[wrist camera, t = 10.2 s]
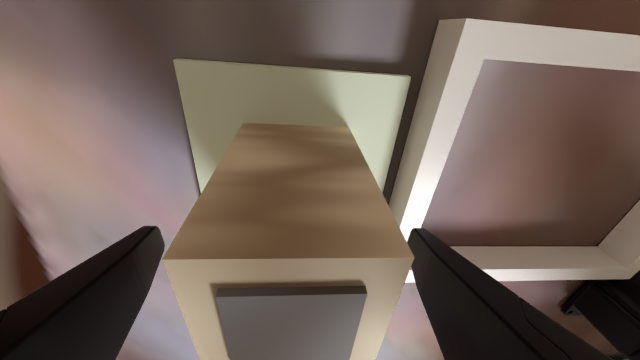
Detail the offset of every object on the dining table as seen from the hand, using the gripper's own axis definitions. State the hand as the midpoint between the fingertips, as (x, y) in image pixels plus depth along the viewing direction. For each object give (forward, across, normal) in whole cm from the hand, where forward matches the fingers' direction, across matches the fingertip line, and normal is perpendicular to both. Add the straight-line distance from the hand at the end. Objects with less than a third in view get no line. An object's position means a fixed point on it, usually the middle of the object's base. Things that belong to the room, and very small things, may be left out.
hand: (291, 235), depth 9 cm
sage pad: (+5, 0, 0) cm, 5 cm away
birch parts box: (+5, 0, 0) cm, 5 cm away
